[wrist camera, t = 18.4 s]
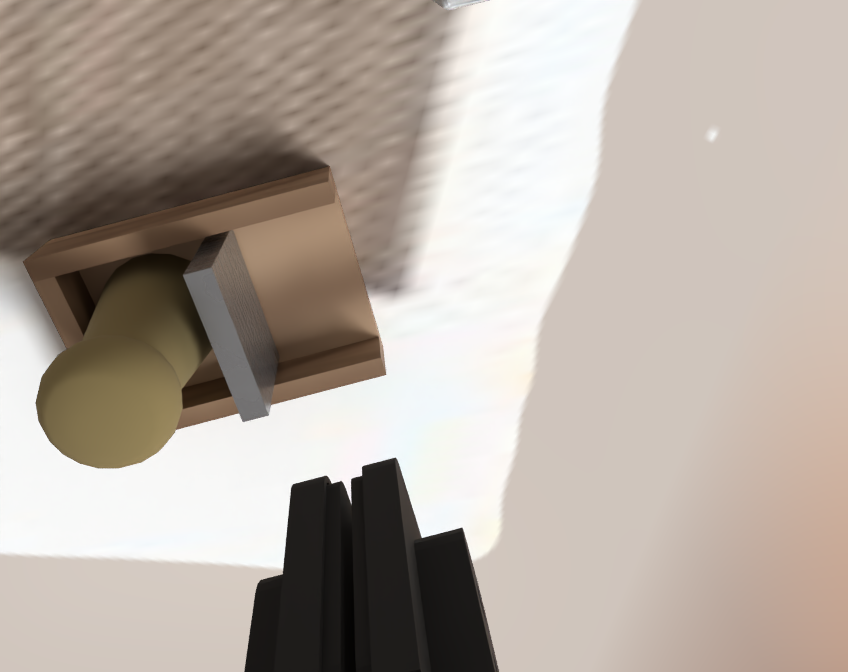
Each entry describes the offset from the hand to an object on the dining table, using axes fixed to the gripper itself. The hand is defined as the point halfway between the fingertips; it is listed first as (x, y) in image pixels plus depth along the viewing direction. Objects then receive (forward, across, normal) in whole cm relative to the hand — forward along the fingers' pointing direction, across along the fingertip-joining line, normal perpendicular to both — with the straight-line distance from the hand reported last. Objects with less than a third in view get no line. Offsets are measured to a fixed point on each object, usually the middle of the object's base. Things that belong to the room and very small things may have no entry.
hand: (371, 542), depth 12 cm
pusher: (+26, +7, +4) cm, 28 cm away
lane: (+26, +8, +4) cm, 28 cm away
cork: (+26, +11, +4) cm, 28 cm away
